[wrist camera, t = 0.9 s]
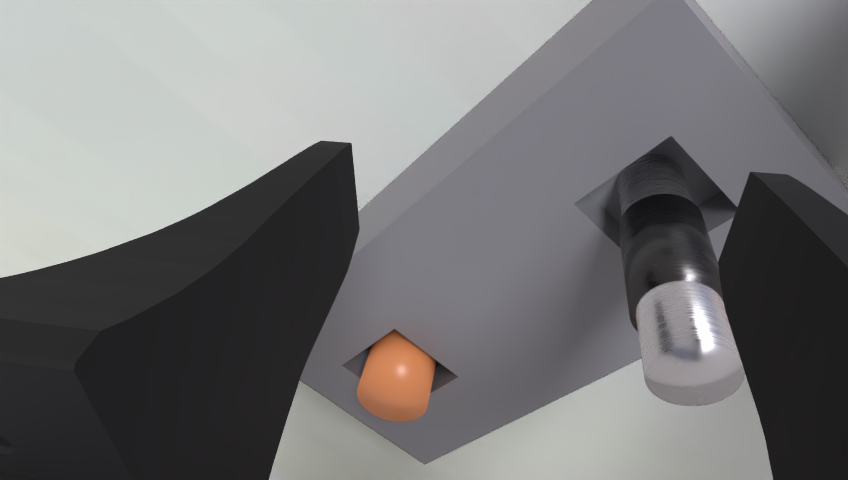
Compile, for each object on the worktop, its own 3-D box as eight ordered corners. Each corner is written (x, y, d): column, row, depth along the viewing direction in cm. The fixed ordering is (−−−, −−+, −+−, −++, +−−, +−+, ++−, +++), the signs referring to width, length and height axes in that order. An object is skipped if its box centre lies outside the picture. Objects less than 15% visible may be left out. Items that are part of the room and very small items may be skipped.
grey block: (651, -53, 18) (671, -15, 15) (833, 169, 21) (882, 240, 18) (281, 281, 29) (247, 344, 26) (437, 395, 32) (424, 464, 29)
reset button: (404, 304, 25) (387, 364, 23) (453, 342, 26) (442, 404, 24) (362, 334, 27) (342, 393, 24) (410, 370, 28) (395, 430, 25)
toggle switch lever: (702, 161, 19) (774, 356, 13) (668, 219, 20) (718, 420, 14) (630, 140, 19) (665, 326, 13) (601, 200, 20) (620, 393, 14)
